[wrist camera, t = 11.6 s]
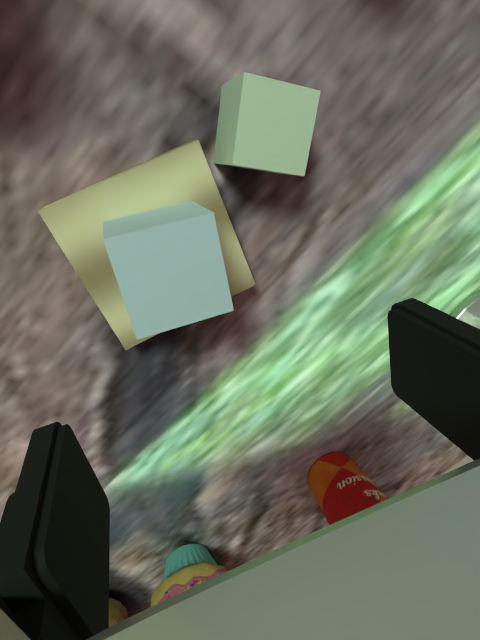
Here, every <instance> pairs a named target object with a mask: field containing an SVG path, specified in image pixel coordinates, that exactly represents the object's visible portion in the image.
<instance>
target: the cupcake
mask: <svg viewBox="0 0 480 640" xmlns="http://www.w3.org/2000/svg"><path fill="white" fill-rule="evenodd" d="M227 571H228V570H227V569H226V568H225V567H224V566H222V565H217V563H216V562H215V561H214V559H213V558H212V556H211V555H210V553H209V552H208V550H207V549H206V548H205V547H204V546H203V545H200V544H187V545H183V546H181V547H179V548H177V549H176V550H174V551H173V552H172V553H171V554H170V555H169V556H168V558H167V560H166V563H165V570H164V576H163V580H162V583H161V584H160V585H159V586H158V587H157V588H156V590H155V591H154V592H153V594H152V597H151V607H152V606H154V605H157V604H159V603H161V602H163V601H165V600H167V599H169V598H171V597H173V596H175V595H178V594H180V593H182V592H184V591H186V590H188V589H190V588H192V587H195V586H197V585H199V584H201V583H203V582H205V581H208V580H210V579H212V578H214V577H216V576H219V575H221V574H223V573H225V572H227Z"/></svg>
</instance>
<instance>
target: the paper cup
mask: <svg viewBox="0 0 480 640" xmlns="http://www.w3.org/2000/svg"><path fill="white" fill-rule="evenodd" d="M308 483H309V486H310V488H311V490H312V492H313V494H314V496H315V498H316V500H317V502H318V504H319V506H320V508H321V510H322V512H323V514H324V515H325V517H326V519H327V521H328V523H329V525H331V524H333V523H336V522H338V521H340V520H342V519H345V518H347V517H349V516H351V515H353V514H356V513H358V512H360V511H362V510H365V509H367V508H369V507H371V506H374V505H376V504H378V503H380V502H382V501H385V500H387V499H388V498H387V497H386V496H385V495H384V494H383V493H382V491H381V490H380V489H379V488H378V487H377V486H376V485H375V484H374V483H373V482H372V481H371V480H370V478H369V477H368V476H367V475H366V474H365V473H364V472H363V471H362V470H361V469H360V468H359V467H358V466H357V465H356V464H355V463H354V461H353V460H352V459H351V458H350V457H348V456H347V455H346V454H344V453H342V452H332V453H328V454H326V455H324V456H322V457H321V458H319V459H318V460H317V461H316V462H315V463H314V464H313V465H312V467H311V468H310V470H309V473H308Z"/></svg>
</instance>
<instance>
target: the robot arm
mask: <svg viewBox="0 0 480 640" xmlns="http://www.w3.org/2000/svg"><path fill="white" fill-rule="evenodd" d="M388 331H389V350H390V369H391V385H392V389H393V391H394V392H395V394H396V395H397V396H398V397H399V398H400V399H401V400H403V401H404V402H405V403H406V404H407V405H409V406H410V407H411V408H412V409H413V410H415V411H416V412H417V413H418V414H419V415H421V416H422V417H423V418H424V419H425V420H427V421H428V422H429V423H430V424H431V425H432V426H434V427H435V428H436V429H437V430H438V431H440V432H441V433H442V434H443V435H444V436H446V437H447V438H448V439H449V440H450V441H452V442H453V443H454V444H455V445H456V446H458V447H459V448H460V449H461V450H462V451H464V452H465V453H466V454H467V455H468V456H470V457H471V458H472V459H473V460H474V461H473V462H470V463H468V464H466V465H464V466H461V467H459V468H457V469H455V470H452V471H450V472H448V473H446V474H443V475H441V476H439V477H436V478H434V479H432V480H430V481H427V482H425V483H423V484H421V485H418V486H416V487H414V488H412V489H409V490H407V491H405V492H403V493H400V494H398V495H396V496H394V497H391V498H389V499H387V500H385V501H382V502H380V503H378V504H376V505H374V506H371V507H369V508H367V509H365V510H362V511H360V512H358V513H356V514H353V515H351V516H349V517H347V518H345V519H342V520H340V521H338V522H336V523H333V524H331V525H329V526H327V527H324V528H322V529H320V530H318V531H316V532H313V533H311V534H309V535H307V536H304V537H302V538H300V539H298V540H296V541H293V542H291V543H289V544H287V545H285V546H282V547H280V548H278V549H276V550H274V551H271V552H269V553H267V554H265V555H263V556H260V557H258V558H256V559H254V560H252V561H249V562H247V563H245V564H243V565H241V566H238V567H236V568H234V569H232V570H230V571H227V572H225V573H223V574H221V575H219V576H216V577H214V578H212V579H210V580H208V581H205V582H203V583H201V584H199V585H197V586H195V587H192V588H190V589H188V590H186V591H184V592H182V593H180V594H178V595H175V596H173V597H171V598H169V599H167V600H165V601H163V602H161V603H159V604H157V605H154V606H152V607H150V608H148V609H146V610H144V611H142V612H140V613H138V614H135V615H133V616H131V617H129V618H127V619H125V620H123V621H121V622H119V623H117V624H115V625H113V626H111V627H109V525H110V509H109V503H108V499H107V496H106V494H105V492H104V490H103V489H102V487H101V485H100V483H99V481H98V479H97V477H96V475H95V473H94V471H93V469H92V467H91V465H90V464H89V462H88V460H87V458H86V456H85V454H84V452H83V450H82V448H81V446H80V444H79V442H78V440H77V439H76V437H75V435H74V433H73V431H72V429H71V427H70V426H69V425H68V424H66V425H63V426H62V425H61V424H60V423H59V422H55V423H52V424H49V425H46V426H43V427H41V428H38V429H35V430H34V431H33V433H32V436H31V439H30V443H29V446H28V450H27V453H26V457H25V460H24V463H23V467H22V470H21V474H20V477H19V481H18V484H17V487H16V491H15V493H13V494H11V495H10V496H9V498H8V500H7V502H6V506H5V509H4V512H3V515H2V519H1V522H0V640H480V291H479V292H477V293H475V294H473V295H472V296H470V297H469V298H468V299H466V300H465V301H464V302H462V303H461V304H460V305H459V306H458V307H457V308H456V309H455V310H454V311H453V313H452V314H451V315H448V314H446V313H444V312H442V311H440V310H438V309H436V308H433V307H431V306H429V305H427V304H425V303H423V302H421V301H418V300H416V299H413V298H411V299H407V300H405V301H402V302H399V303H396V304H394V305H393V306H392V308H391V311H389V312H388Z"/></svg>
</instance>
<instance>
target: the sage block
mask: <svg viewBox="0 0 480 640" xmlns="http://www.w3.org/2000/svg"><path fill="white" fill-rule="evenodd" d="M319 97H320V91H319V90H315V89H311V88H307V87H303V86H299V85H295V84H291V83H287V82H282V81H278V80H274V79H270V78H266V77H262V76H258V75H254V74H250V73H245V72H244V73H242V74H240V75H239V76H237V77H235V78H234V79H232V80H230V81H229V82H227V83H225V84H224V85H222V92H221V101H220V110H219V119H218V128H217V137H216V146H215V155H214V163H215V164H221V165H228V166H234V167H240V168H247V169H253V170H259V171H266V172H272V173H279V174H288V175H297V176H305V171H306V166H307V161H308V155H309V150H310V145H311V139H312V134H313V129H314V123H315V118H316V113H317V107H318V102H319Z"/></svg>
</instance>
